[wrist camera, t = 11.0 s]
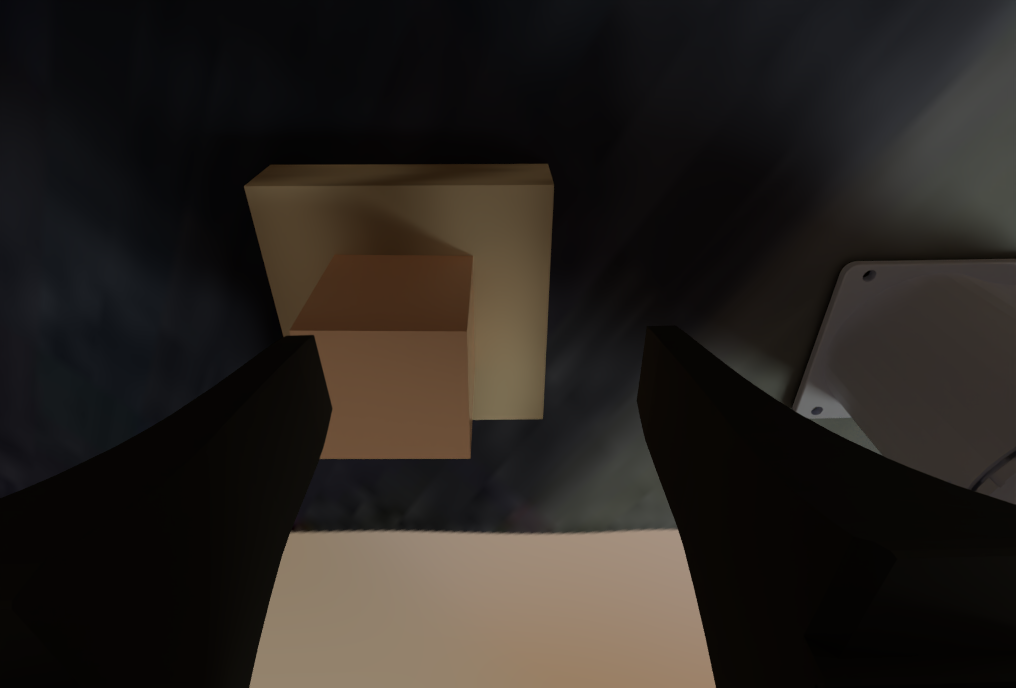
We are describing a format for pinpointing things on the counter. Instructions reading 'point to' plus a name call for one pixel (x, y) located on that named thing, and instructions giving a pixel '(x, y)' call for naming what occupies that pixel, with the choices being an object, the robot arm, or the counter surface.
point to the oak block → (425, 250)
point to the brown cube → (395, 355)
